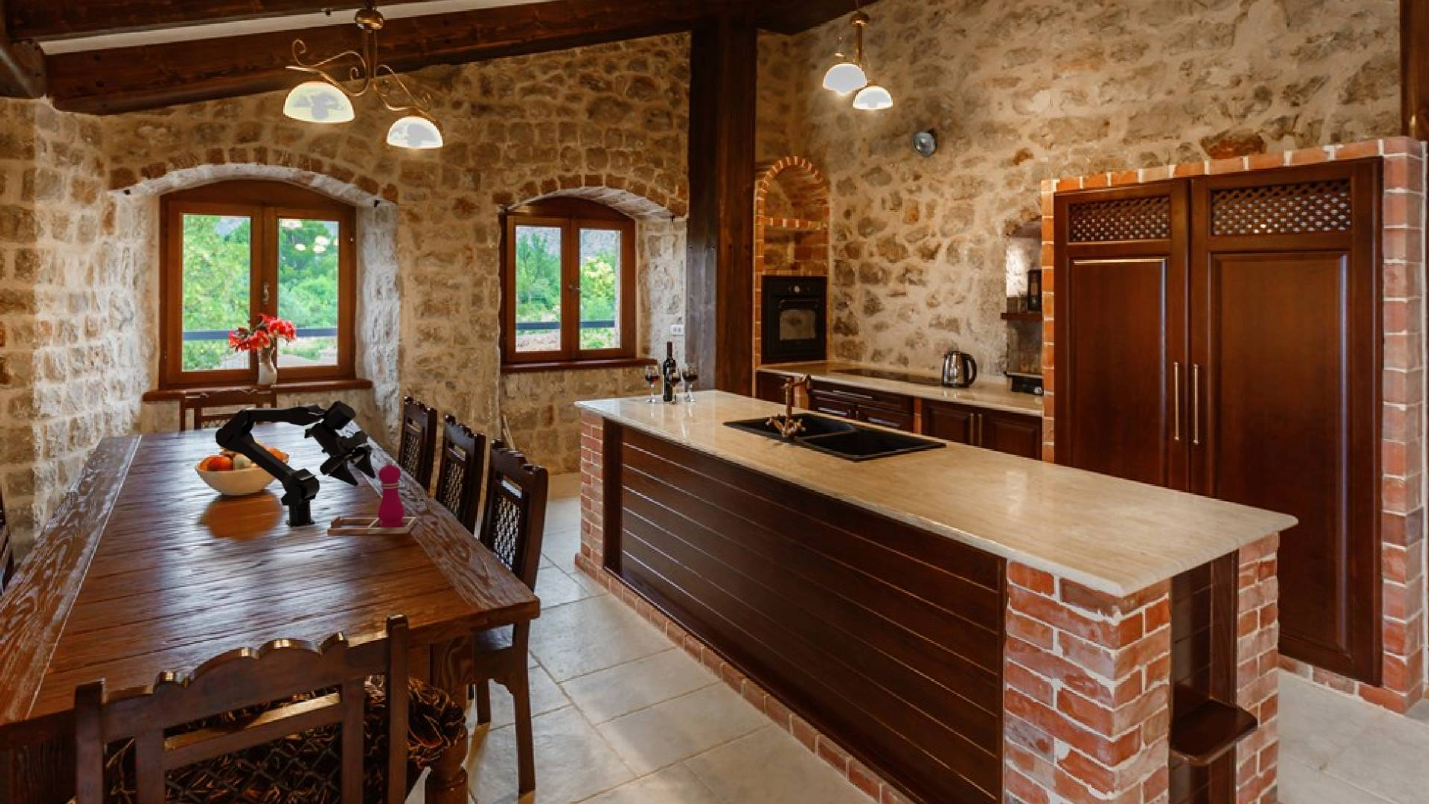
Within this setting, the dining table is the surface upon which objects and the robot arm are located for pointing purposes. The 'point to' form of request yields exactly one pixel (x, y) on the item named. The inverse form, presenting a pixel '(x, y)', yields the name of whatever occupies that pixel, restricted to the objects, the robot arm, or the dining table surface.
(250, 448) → the robot arm
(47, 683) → the dining table surface
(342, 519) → the rack
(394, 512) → the pepper mill
